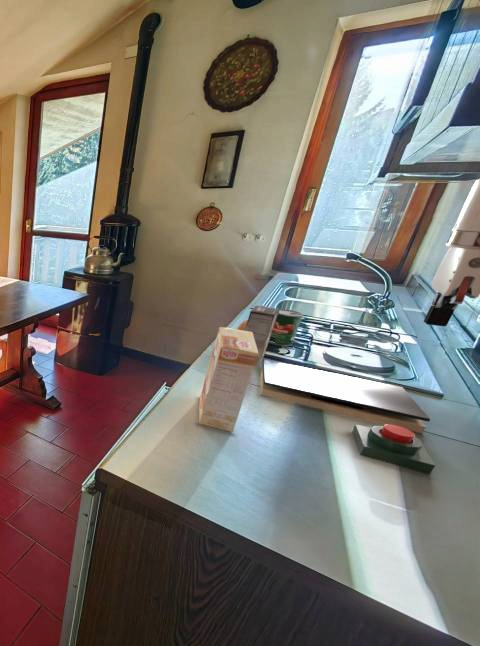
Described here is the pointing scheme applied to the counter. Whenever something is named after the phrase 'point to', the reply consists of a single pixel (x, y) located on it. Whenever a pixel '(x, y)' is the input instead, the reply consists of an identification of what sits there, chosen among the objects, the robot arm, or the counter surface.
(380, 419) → the laptop
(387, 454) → the switch box
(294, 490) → the counter surface
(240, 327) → the egg
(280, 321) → the canned tomato
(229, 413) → the coffeecake box
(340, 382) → the laptop screen
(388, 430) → the button
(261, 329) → the coffee box
